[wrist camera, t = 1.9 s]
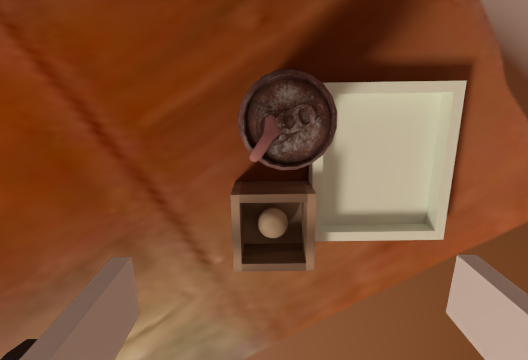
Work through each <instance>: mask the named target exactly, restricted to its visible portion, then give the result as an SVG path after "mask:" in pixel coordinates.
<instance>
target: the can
mask: <svg viewBox="0 0 528 360" xmlns="http://www.w3.org/2000/svg"><path fill="white" fill-rule="evenodd" d="M238 124H239V133H240V136H241V138H242V141H243V143H244V146H245V147H246V149H247V150H248V151H249V152H250V153H251V154H250V156H249V158H250V160H251V161H253V162H256V161H260V162H261V163H263V164H264V165H266V166H268V167H271V168H275V169H279V170H296V169H299V168H302V167H305V166H307V165H310V164H312V163H313V162H314V161H316V160H317V159H318V158H320V157H321V156H322V155H323V154H324V153H325V151H326V150H327V149H328V147H329V146H330V144H331V143H332V141H333V138H334V135H335V132H336V129H337V109H336V106H335V103H334V100H333V96H332V95H331V93H330V92H329V91H328V89H327V88H326V86H325V85H324V84H323V83H322V82H321V81H320V80H318V79H317V78H315V77H314V76H313V75H311V74H309V73H306V72H302V71H299V70H296V69H287V70H277V71H274V72H272V73H269V74H267V75H264V76H262V77H261V78H260V79H259V80H258V81H256V82H255V83H254V84H253V85H252V86H251V87H250V88H249V90H248V91H247V93H246V95H245V96H244V98H243V99H242V102H241V106H240V110H239V114H238Z"/></svg>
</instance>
